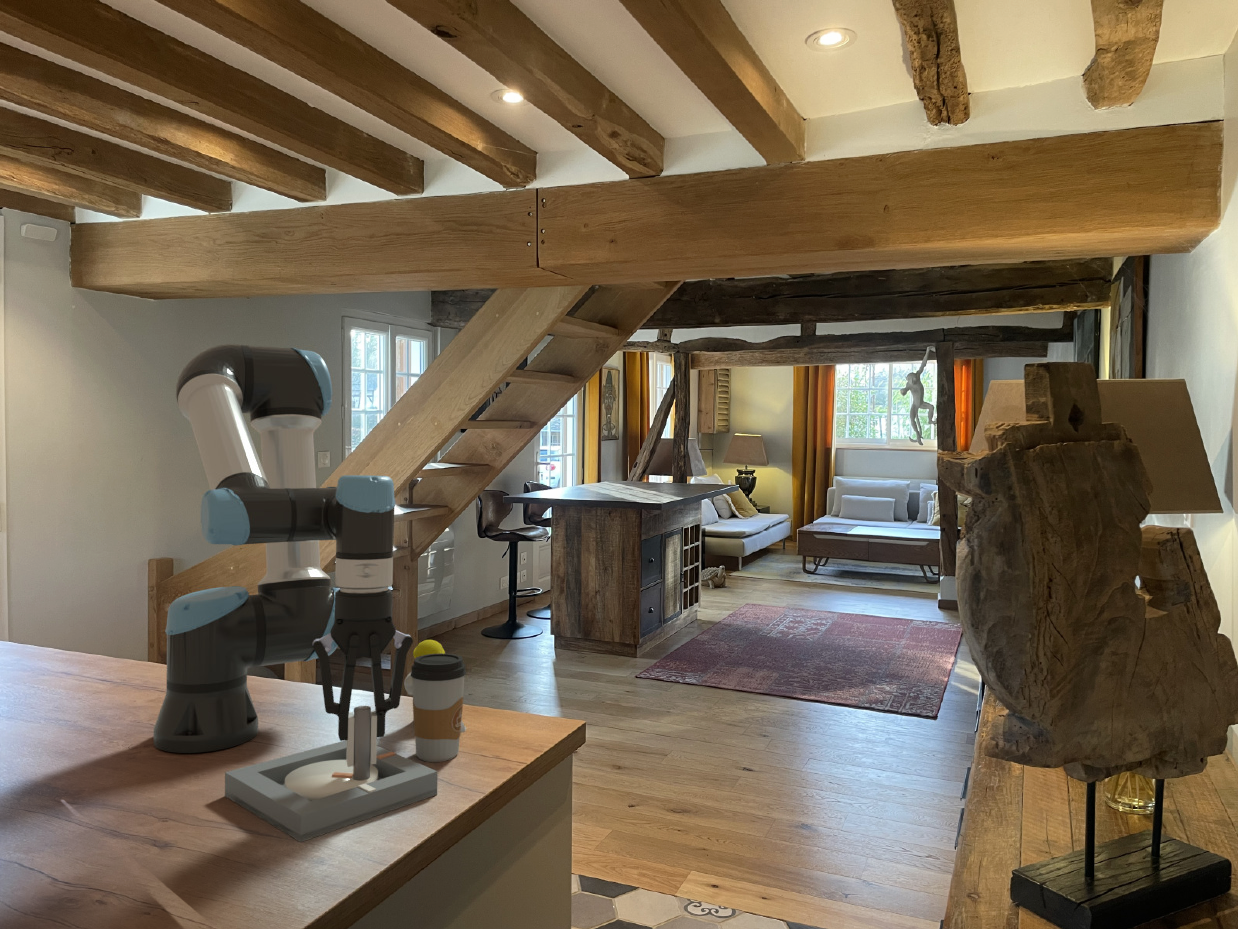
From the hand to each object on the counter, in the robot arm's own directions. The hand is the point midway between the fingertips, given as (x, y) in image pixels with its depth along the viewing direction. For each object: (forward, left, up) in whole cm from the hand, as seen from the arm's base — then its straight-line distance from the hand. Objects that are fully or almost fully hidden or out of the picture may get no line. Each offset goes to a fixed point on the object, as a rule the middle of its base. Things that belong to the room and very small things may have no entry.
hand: (361, 762), depth 120 cm
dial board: (-3, -3, -5) cm, 6 cm away
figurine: (-15, +23, -5) cm, 28 cm away
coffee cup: (-5, +16, -5) cm, 18 cm away
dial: (-3, -3, -3) cm, 5 cm away
